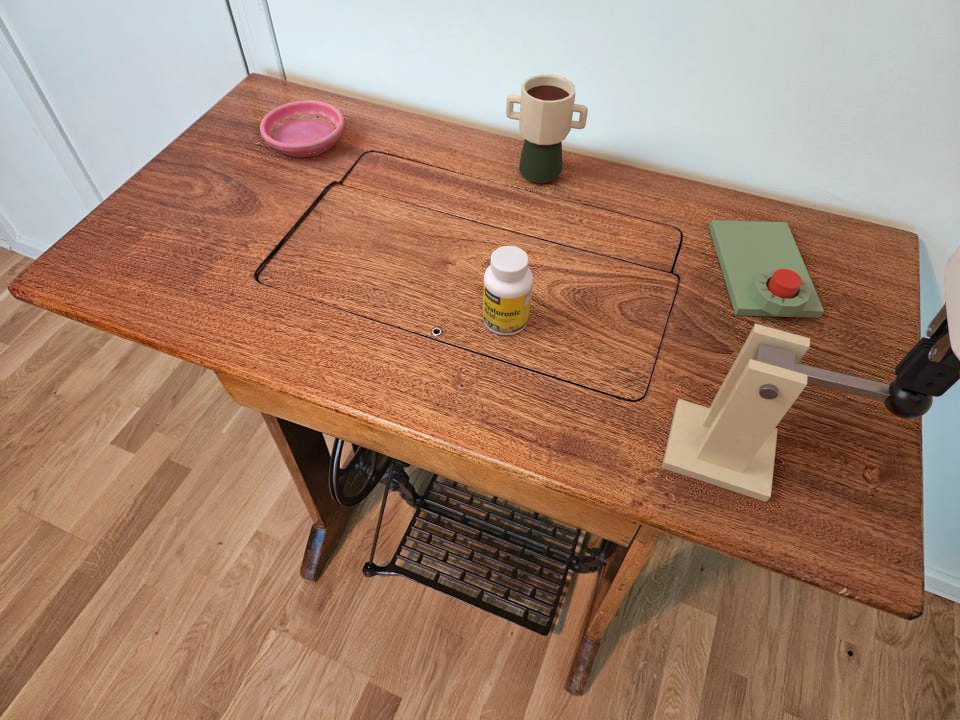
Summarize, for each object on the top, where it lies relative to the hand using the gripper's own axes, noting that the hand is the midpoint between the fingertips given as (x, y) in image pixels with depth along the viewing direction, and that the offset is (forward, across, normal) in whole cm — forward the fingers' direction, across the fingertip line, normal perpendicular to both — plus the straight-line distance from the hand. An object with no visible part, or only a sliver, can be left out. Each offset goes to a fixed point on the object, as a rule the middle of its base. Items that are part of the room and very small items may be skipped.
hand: (916, 383), depth 47 cm
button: (+14, +23, +6) cm, 27 cm away
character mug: (+17, +37, +40) cm, 57 cm away
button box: (+17, +28, +8) cm, 34 cm away
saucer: (+17, +32, +76) cm, 84 cm away
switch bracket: (+16, 0, +10) cm, 19 cm away
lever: (+4, 0, +5) cm, 6 cm away
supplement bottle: (+17, +8, +35) cm, 40 cm away
